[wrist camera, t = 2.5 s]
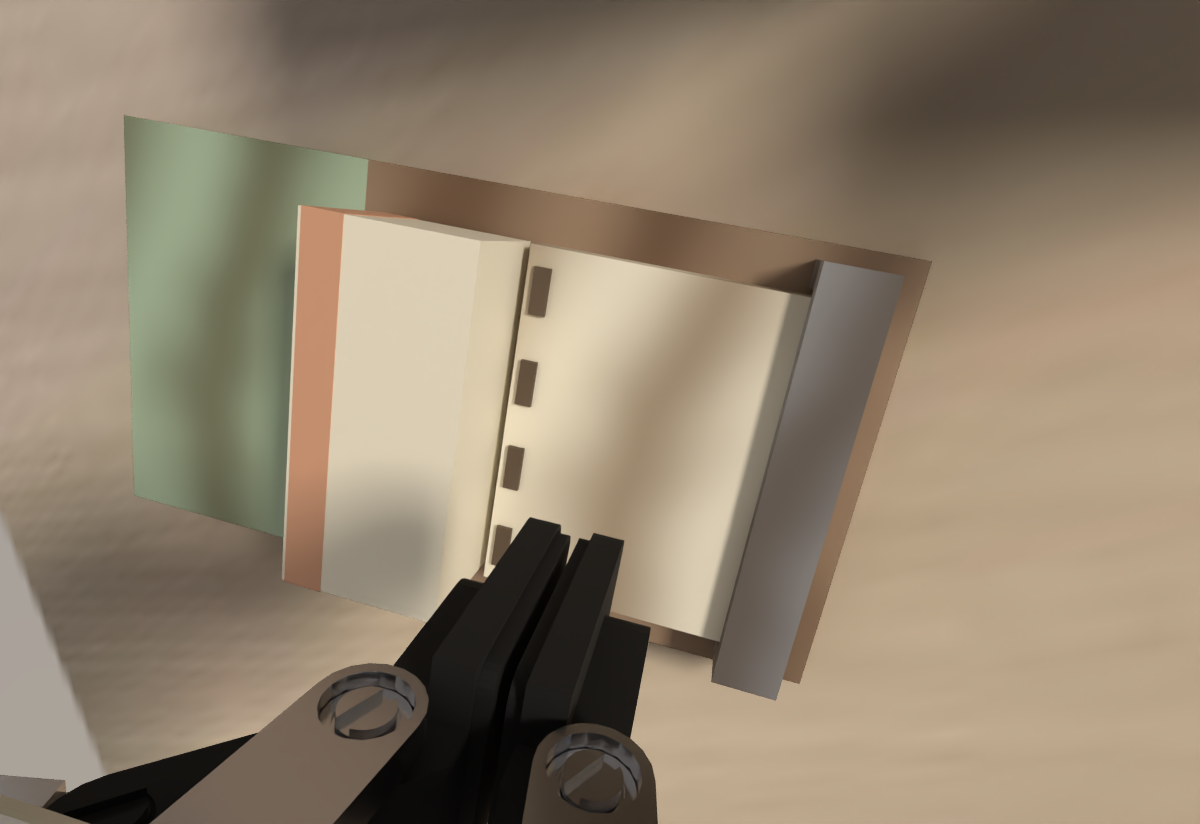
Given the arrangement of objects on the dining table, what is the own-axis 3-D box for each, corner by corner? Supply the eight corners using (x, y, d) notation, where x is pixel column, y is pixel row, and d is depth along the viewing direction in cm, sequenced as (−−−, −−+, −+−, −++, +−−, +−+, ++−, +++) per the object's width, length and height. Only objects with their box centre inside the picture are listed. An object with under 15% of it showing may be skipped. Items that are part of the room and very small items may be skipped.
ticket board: (922, 260, 19) (952, 263, 16) (797, 665, 23) (804, 723, 20) (149, 120, 23) (68, 103, 20) (155, 486, 27) (88, 514, 24)
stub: (530, 240, 20) (480, 240, 16) (485, 561, 23) (433, 625, 19) (380, 211, 21) (297, 204, 17) (355, 525, 24) (281, 580, 20)
